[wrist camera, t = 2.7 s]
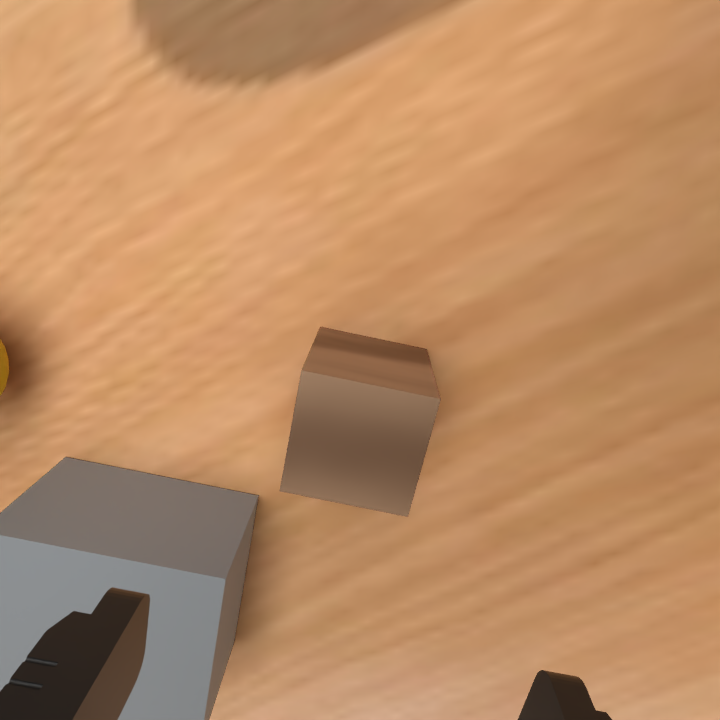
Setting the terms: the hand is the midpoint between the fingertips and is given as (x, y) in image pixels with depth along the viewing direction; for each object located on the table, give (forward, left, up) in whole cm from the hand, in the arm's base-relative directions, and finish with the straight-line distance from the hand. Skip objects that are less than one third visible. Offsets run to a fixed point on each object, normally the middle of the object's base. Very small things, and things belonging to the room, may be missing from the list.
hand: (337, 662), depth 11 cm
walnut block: (0, 0, -15) cm, 15 cm away
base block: (+12, -9, -15) cm, 21 cm away
